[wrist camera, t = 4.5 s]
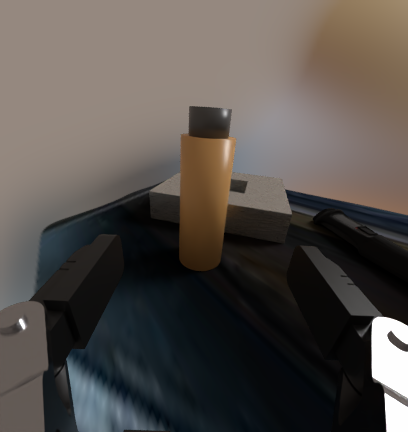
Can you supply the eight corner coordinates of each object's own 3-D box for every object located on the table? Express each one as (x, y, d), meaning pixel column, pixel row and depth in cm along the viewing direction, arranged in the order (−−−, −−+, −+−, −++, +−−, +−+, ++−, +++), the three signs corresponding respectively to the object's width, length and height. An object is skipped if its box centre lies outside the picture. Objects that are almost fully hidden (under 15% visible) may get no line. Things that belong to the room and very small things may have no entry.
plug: (223, 249, 23) (242, 111, 17) (215, 275, 19) (235, 108, 13) (187, 241, 24) (191, 107, 18) (172, 265, 20) (171, 104, 14)
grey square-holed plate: (276, 199, 39) (281, 178, 37) (283, 243, 25) (292, 214, 23) (188, 185, 42) (188, 166, 41) (150, 217, 29) (149, 191, 27)
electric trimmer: (417, 307, 18) (439, 281, 16) (309, 221, 31) (315, 203, 30) (450, 303, 19) (473, 278, 17) (330, 221, 32) (337, 203, 31)
